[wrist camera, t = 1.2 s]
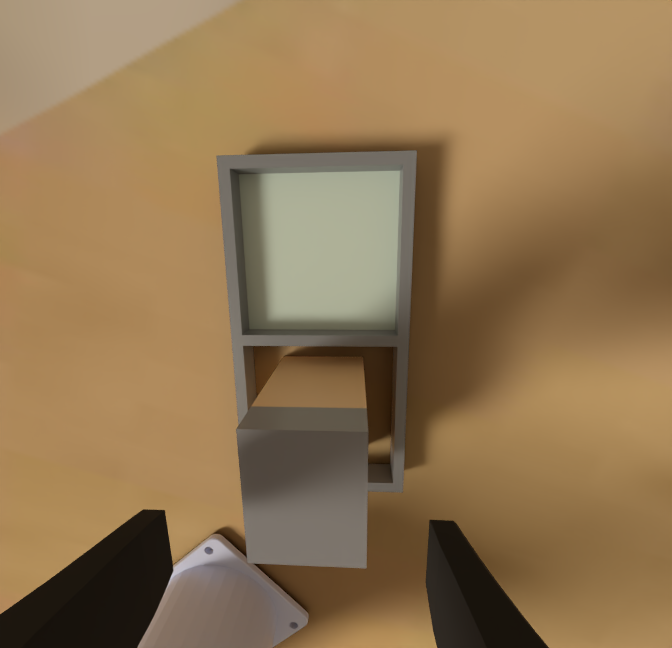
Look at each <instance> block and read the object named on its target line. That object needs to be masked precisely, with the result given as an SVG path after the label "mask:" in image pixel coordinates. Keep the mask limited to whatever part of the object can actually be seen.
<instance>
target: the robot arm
mask: <svg viewBox="0 0 672 648" xmlns="http://www.w3.org/2000/svg"><path fill="white" fill-rule="evenodd" d="M209 547H211V548H209ZM426 587H427V594H428V600H429V607H430V613H431V619H432V625H433V632H434V636H435V640H436V644H437V648H549V647H548V646H547V645H546V644H545V643H544V641H543V640H542V639H541V638H540V636H539V635H538V634H537V633H536V632H535V630H534V629H533V628H532V627H531V625H530V624H529V623H528V622H527V620H526V619H525V618H524V617H523V615H522V614H521V613H520V612H519V610H518V609H517V608H516V606H515V605H514V604H513V602H512V601H511V600H510V598H509V597H508V596H507V595H506V593H505V592H504V591H503V589H502V588H501V587H500V585H499V584H498V583H497V581H496V580H495V579H494V577H493V576H492V574H491V573H490V572H489V570H488V569H487V568H486V566H485V565H484V563H483V562H482V561H481V559H480V558H479V556H478V555H477V553H476V552H475V551H474V549H473V548H472V546H471V545H470V543H469V542H468V540H467V539H466V537H465V536H464V534H463V533H462V531H461V530H460V528H459V527H458V525H457V524H456V523H455V522H454V521H444V520H430V523H429V539H428V555H427V571H426ZM308 618H309V615H308V613H307V611H306V610H304V609H303V608H302V607H301V606H300V605H299V604H298V603H297V602H296V601H294V600H293V599H292V598H291V597H290V596H289V595H288V594H287V593H286V592H284V591H283V590H282V589H281V588H280V587H279V586H278V585H277V584H276V583H274V582H273V581H272V580H271V579H270V578H269V577H268V576H267V575H265V574H264V573H263V572H262V571H261V570H260V569H259V568H258V567H257V566H255V565H254V564H253V563H247V557H245V556H244V555H243V554H242V553H241V552H240V551H239V550H238V549H237V548H235V547H234V546H233V545H232V544H231V543H230V542H229V541H228V540H226V539H225V538H224V537H223V536H222V535H220V534H213V535H211V536H210V537H208V538H207V539H206V540H205V541H203V542H202V543H201V544H200V545H198V546H197V547H196V548H194V549H193V550H192V551H191V552H189V553H188V554H187V555H186V556H184V557H183V558H182V559H181V560H179V561H178V562H177V563H176V564H174V565H173V563H172V556H171V549H170V543H169V536H168V529H167V522H166V516H165V510H144V509H143V510H142V511H141V512H139V513H138V514H136V515H135V516H134V517H132V518H131V519H129V520H128V521H127V522H125V523H124V524H123V525H121V526H120V527H119V528H117V529H116V530H115V531H113V532H112V533H111V534H110V535H108V536H107V537H106V538H104V539H103V540H102V541H100V542H99V543H98V544H96V545H95V546H94V547H92V548H91V549H90V550H88V551H87V552H86V553H84V554H83V555H82V556H80V557H79V558H78V559H76V560H75V561H74V562H72V563H71V564H70V565H68V566H67V567H66V568H64V569H63V570H62V571H60V572H59V573H58V574H56V575H55V576H54V577H52V578H51V579H50V580H48V581H47V582H45V583H44V584H43V585H41V586H40V587H38V588H37V589H36V590H34V591H33V592H31V593H30V594H28V595H27V596H26V597H24V598H23V599H21V600H20V601H19V602H17V603H16V604H14V605H13V606H12V607H10V608H9V609H7V610H6V611H4V612H3V613H2V614H0V648H273V647H274V646H276V645H277V644H279V643H280V642H282V641H283V640H285V639H286V638H288V637H289V636H291V635H292V634H294V633H295V632H297V631H298V630H300V629H301V628H303V627H304V626H306V625H307V623H308Z"/></svg>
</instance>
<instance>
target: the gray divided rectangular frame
mask: <svg viewBox="0 0 672 648" xmlns="http://www.w3.org/2000/svg"><path fill="white" fill-rule="evenodd" d="M416 160H417V150H415V151H376V152H337V153H299V154H260V155H221V156H217V167H218V180H219V192H220V204H221V216H222V228H223V240H224V253H225V265H226V277H227V289H228V301H229V313H230V325H231V338H232V350H233V362H234V374H235V386H236V398H237V411H238V423H239V424H240V423H241V421H242V420H243V418H244V416H245V415H246V413H247V412H248V410H249V409H250V407H251V406H252V404H253V403H254V401H255V400H256V398H257V394H256V379H255V365H254V350H253V346H355V347H394V348H393V382H392V415H391V448H390V464H368V491H372V492H403V480H404V455H405V431H406V406H407V381H408V357H409V332H410V307H411V283H412V258H413V234H414V209H415V184H416Z"/></svg>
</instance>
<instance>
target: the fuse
mask: <svg viewBox="0 0 672 648" xmlns="http://www.w3.org/2000/svg"><path fill="white" fill-rule="evenodd" d="M236 432H237V444H238V456H239V467H240V479H241V491H242V503H243V515H244V527H245V539H246V551H247V563H254V564H276V565H299V566H322V567H345V568H367V500H368V419H367V405H366V391H365V377H364V362H363V357H323V356H284V357H283V358H282V360H281V361H280V363H279V364H278V366H277V367H276V369H275V370H274V372H273V373H272V375H271V377H270V378H269V380H268V381H267V383H266V384H265V386H264V387H263V389H262V390H261V392H260V393H259V395H258V397H257V398H256V400H255V401H254V403H253V404H252V406H251V407H250V409H249V410H248V412H247V413H246V415H245V416H244V418H243V420H242V421H241V423H240V424H239V426H238V427H237V429H236Z"/></svg>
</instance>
